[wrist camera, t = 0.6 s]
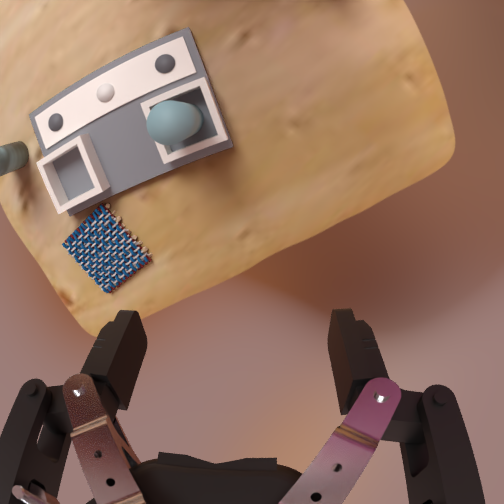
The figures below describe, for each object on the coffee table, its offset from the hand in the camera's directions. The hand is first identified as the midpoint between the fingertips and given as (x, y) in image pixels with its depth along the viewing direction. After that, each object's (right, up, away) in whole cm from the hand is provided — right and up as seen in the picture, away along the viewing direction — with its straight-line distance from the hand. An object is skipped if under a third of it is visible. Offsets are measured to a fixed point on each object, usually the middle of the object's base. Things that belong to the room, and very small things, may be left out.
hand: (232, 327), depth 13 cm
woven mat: (-20, +4, +29) cm, 36 cm away
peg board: (-15, +19, +22) cm, 33 cm away
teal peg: (-33, +17, +22) cm, 43 cm away
